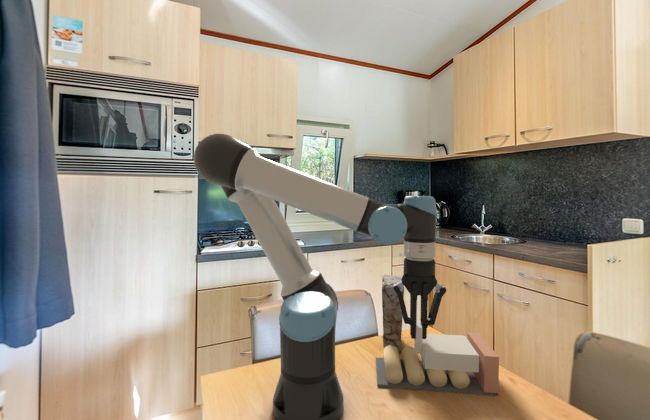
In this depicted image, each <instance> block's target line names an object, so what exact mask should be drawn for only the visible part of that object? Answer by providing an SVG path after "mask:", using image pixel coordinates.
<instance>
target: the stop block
mask: <svg viewBox="0 0 650 420" xmlns="http://www.w3.org/2000/svg"><path fill="white" fill-rule="evenodd" d="M466 338H467V339H468V341H469V342H470V343H471V345H472V346H473V348H474V349H475V350H476V352H477V353H478V355H479V372H472V373H473V374H474V376H475V378H476V379H477V381H478V383H479V384H480V386H481V388H482V389H483V391H484V392H490V393H491V394H492V395H491V396H494V395H493V393H497V394H498V395H497V396H499V380H500V379H499V377H500V376H499V373H500V371H499V369H500V357H499V355H498V354H497V352H495V350H494V349H493V348H492V346H491V345H490V344H489V343H488V342H487V341H486V339H485V338H484V337H483V335H482V334H481V333H480V332H467V336H466ZM484 396H489V395H488V394H487V395H485V393H484Z"/></svg>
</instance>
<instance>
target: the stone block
mask: <svg viewBox="0 0 650 420" xmlns="http://www.w3.org/2000/svg"><path fill="white" fill-rule="evenodd" d="M401 279H402V277H401V276H400V275H399V276H397V275H390V274H384V275H382V283H381V300H382V301H381V306H382V307H381V309H382V329H383V331H382V332H383V333H382V335H383V336H382V344H383V349H384V348H385V347H386V346H388V345H393V346H395V347H396V348H397V350H398V354H399V355H400V354H402V351H401V345H402V343H401V342H402V330H403V316H402V312H401V308H400V303H399V299H398V295H397V293H396V292H395V290H394V288H393V284H394V283H396V284H397V283H399V282H400V281H401ZM402 294H403V298H405V286H404V285H403V291H402Z"/></svg>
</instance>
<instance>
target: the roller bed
mask: <svg viewBox="0 0 650 420" xmlns="http://www.w3.org/2000/svg"><path fill="white" fill-rule="evenodd" d="M382 353H383V357H375V367H376V368H375V369H376V384H377V385H376V386H377V387H379V388H391V389H392V388H394V389H405V390H417V391H418V390H419V391H430V392H432V391H433V392H444V393H445V392H446V393H457V394H458V393H459V394H469V395H470V394H471V395H472V394H473V395H474V394H475V395H484V393H485V395H484V396H497V395H498V396H499V393H498V394H497V393H493V395H492V394H491V393H490V392H484V391H483V389H482V388H481V386H480V384H479V383H478V381H477V379H476V378H475V376H474V374H473V373H472V372H466V371H451V370H436V369H425V368H424V365H423V362H422V359H421V360H420V357H419V355H418V354H419V353H416V351H415V348H414V346H410V345H409V346H405V347H404V348H403V349H402V351H401V356H402V358H400V354H398V350H397V348H396V347H395V346H393V345H388V346H386V347H385V348H384V347H383V352H382ZM487 394H488V395H487Z"/></svg>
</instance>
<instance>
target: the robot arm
mask: <svg viewBox="0 0 650 420" xmlns="http://www.w3.org/2000/svg"><path fill="white" fill-rule="evenodd" d="M193 163H194V166H195V168H196V171H197V172H198V174H199V175H200V176H201V177H202V178H203V180H206V181H207V182H209V183H210V184H212V185H216V186H217V185H218V186H220V187H221V189H222V190H223V193H224V194H225V196H226V198H227V200H228V201H230V202H232V203H235V204H237V206H238V207H239V209H240V212H242V215H243V216H244V217H245V220H246V221H247V223H248V226H250V229H251V231H252V232H253V234H254V236H255V238H256V241H257V242H258V243H259V245H260V248H261V250H262V251H263V252H264V255H265V256H266V258H267V260H268V262H269V263H270V266H271V267H272V269H273V271H274V273H275V274H276V276H277V278H278V280H279V281H280V284H281V286H282V287H281V290H280V297H281V298H282V300H283V302H282V303H281V306H280V311H279V317H278V322H279V326H280V327H279V333H280V334H279V336H280V337H279V338H280V345H279V346H280V349H279V351H280V374H279V378H278V381H277V385H276V388H275V390H274V393H273V398H272V413H273V414H272V415H273V418H274V419H275V420H340V419H341V418H342V416H343V414H344V408H345V407H344V402H345V401H344V400H345V399H344V393H343V390H342V388H341V385H340V382H339V381H340V380H339V378H338V376H337V372H336V329H337V328H336V327H337V316H338V310H339V301H338V296H337V294H336V291H335V290H334V288H333V287H332V286H331V285H330V284H329V283H328V282H327V281H326V279H324V276H323V275H322V272H321V271H320V270H316V269H314V268H313V267H311V264H310V263H309V261H308V259H307V257H306V256H305V253H304V252H303V250H302V248H301V246H300V245H299V242H298V241H297V238H296V237H295V236H294V234H293V232H292V230H291V228H290V226H289V224H288V222H287V221H286V219H285V217H284V215H283V214H282V212H281V210H280V207H279V206H278V204H277V203H276V202H279V203H282V204H284V205H286V206H290V207H292V208H294V209H297V210H300V211H303V212H305V213H308V214H309V215H313V216H316V217H318V218H321V219H323V220H326V221H328V222H330V223H334V224H335V225H338V226H342V227H344V228H347V229H349V230H352V231H353V232H356V233H358V234H361V235H364V236H367V237H370V238H372V239H373V240H374V241H376V242H377V243H380V244H383V245H387V246H389V245H394V244H396V243H398V242H400V241H401V240H402V239H403V256H404V258H403V275H402V277H401V281H400V282H399V283H397V284H396V283H394V284H393V288H394V290H395V292H396V293H397V295H398V299H399V303H400V308H401V312H402V316H403V317H402V321H403V323H404V324H405V325H409V326H410V329H409V334H410V337H411V339H414V343H413V344H414V345H413V348H415V351H416V353H417V354H420V353H421V354H422V339H426V337H427V334H428V328H429V326H434V325H435V324H436V320H437V316H438V313H439V309H440V306H441V303H442V302H441V301H442V298H443V296H444V295H445V294H446V293H447V288H446V287H445V286H444V285H443V284H440V283H438V280H437V278H436V260H435V258H436V233H437V232H436V230H437V204H436V203H437V202H436V199H435V198H434V196H431V195H406V196H405V197H404V199H403V200H404V201H403V203H383V202H381V201H378V200H375V199H373V198H369V197H367V196H365V195H363V194H360V193H357V192H354V191H352V190H349V189H347V188H344V187H342V186H339V185H336V184H334V183H331V182H328V181H326V180H323V179H320V178H318V177H315V176H314V175H310V174H309V173H304V172H302V171H300V170H297V169H294V168H292V167H289V166H286V165H284V164H281V163H279V162H276V161H273V160H271V159H269V158H265V157H263V156H261V155H260V153H259V151H258V150H256V148H255V147H253V146H252V145H250V143H247V142H244V141H241V140H239V139H237V138H236V137H235V136H232V135H229V134H224V133H214V134H209V135H207V136H205V137H204V138H202V139H201V140H200V141H199V143H198V144H197V146H196V147H195V150H194V154H193ZM403 285H404V289H406V290H407V291H408V293H409V295H410V296H409V297H410V298H409V299H410V301H409V303H410V304H409V307H410V309H409V316H408V312H407V307H406V302H405V299H404V298H405V297H404V298H403V294H402V291H403ZM433 290H434V291H435V292H434V293H433V294H434V295H433V298H432V302H431V306H430V309H429V313H428V300H429V294H431V292H433ZM418 296H420V319H419V321H420V322H417V317H418V316H417V315H418V313H417V309H418V307H417V306H418V303H417V302H418Z"/></svg>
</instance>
